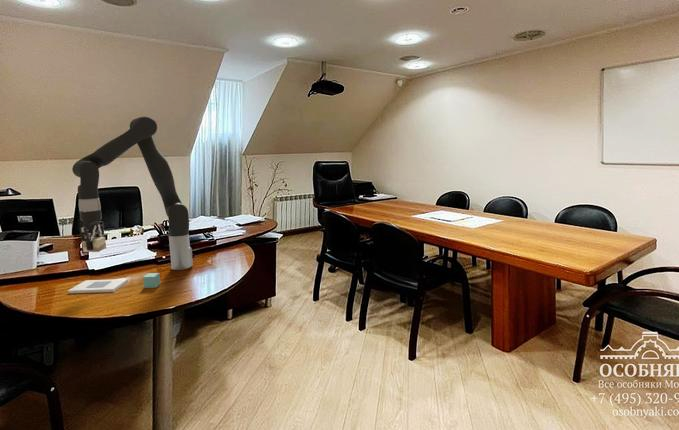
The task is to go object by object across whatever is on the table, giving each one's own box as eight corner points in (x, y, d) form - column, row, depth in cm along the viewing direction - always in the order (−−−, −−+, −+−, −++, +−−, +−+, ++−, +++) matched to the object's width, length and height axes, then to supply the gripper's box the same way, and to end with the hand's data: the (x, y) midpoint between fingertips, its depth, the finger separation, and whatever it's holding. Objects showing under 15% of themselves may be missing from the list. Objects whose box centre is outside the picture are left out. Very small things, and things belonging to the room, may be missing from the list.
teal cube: (160, 283, 161) (159, 272, 161) (155, 287, 157) (154, 276, 156) (148, 283, 161) (147, 273, 160) (143, 288, 156) (142, 277, 155)
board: (127, 281, 163) (127, 278, 163) (114, 291, 152) (113, 288, 151) (85, 282, 162) (85, 280, 162) (68, 293, 150) (68, 290, 150)
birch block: (106, 248, 157) (104, 236, 156) (98, 251, 151) (97, 240, 150) (91, 248, 156) (90, 237, 156) (83, 252, 151) (81, 240, 150)
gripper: (90, 206, 157) (95, 244, 160) (69, 212, 143) (74, 253, 146) (108, 206, 158) (112, 243, 161) (89, 211, 144) (94, 252, 147)
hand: (94, 248), depth 154 cm, fingers closed on birch block, 6 cm apart
